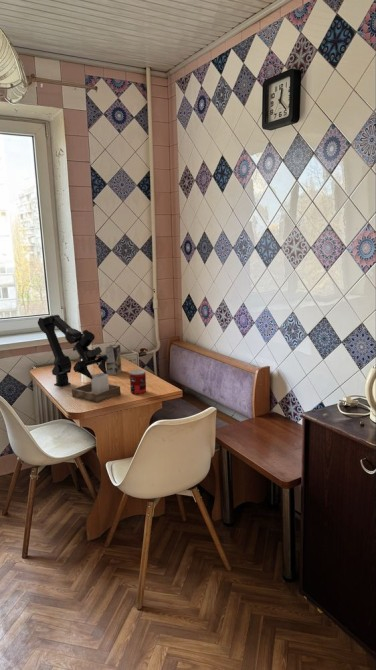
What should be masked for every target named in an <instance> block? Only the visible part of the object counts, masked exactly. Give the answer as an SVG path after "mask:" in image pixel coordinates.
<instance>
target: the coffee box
mask: <svg viewBox="0 0 376 670" xmlns="http://www.w3.org/2000/svg"><path fill="white" fill-rule="evenodd" d="M104 350H105V355H106V356H107V357H108V359H107V361H106V362H105V366H106V371H107V374H108V376H111V375H112V376H113V375H114V376H116V375H119V374H120V373H121V372H122V355H121V354H122V353H121V352H122V351H121V344H110V345H108V346H107V347H105V349H104Z"/></svg>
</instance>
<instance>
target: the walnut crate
mask: <svg viewBox="0 0 376 670" xmlns="http://www.w3.org/2000/svg"><path fill="white" fill-rule="evenodd" d="M120 395H121V385H120V386H119V385H114V384H110V383H109V390H108V391H105V392H102V393H99V394H93V393H92V384H91V382H89V383H85V384H83V385H80V386H77V387H73V388H71V396H72V398H76V399H80V400H84V401H88V402H90V403H91V402H92V403H95V404H98V403H101V402H105V401H106V400H109V399H111V398H114V397H117V396H120Z"/></svg>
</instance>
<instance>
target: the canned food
mask: <svg viewBox="0 0 376 670" xmlns="http://www.w3.org/2000/svg"><path fill="white" fill-rule="evenodd" d="M146 378H147V377H146V370H145V369H144V370H143V369H133V370H131V371H129V383H130V384H129V385H130V393H131V394H132V395H144V394H146V393H147V379H146Z"/></svg>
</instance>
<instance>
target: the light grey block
mask: <svg viewBox="0 0 376 670" xmlns="http://www.w3.org/2000/svg"><path fill="white" fill-rule="evenodd" d="M91 375H92V379H90V383H91V384H92V393H93V394H99V393H102V392H105V391H108V390H109V384H110V383H109V375H108V374H104V373H103V372H98V373H94V374H91Z"/></svg>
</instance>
